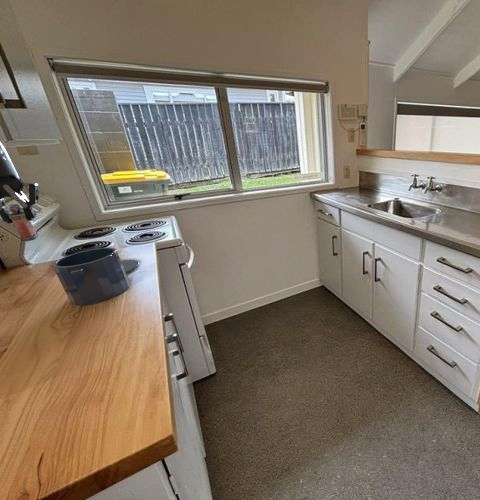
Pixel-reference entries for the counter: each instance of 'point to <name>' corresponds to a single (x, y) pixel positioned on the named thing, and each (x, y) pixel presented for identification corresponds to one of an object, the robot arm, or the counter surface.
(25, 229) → the lighter
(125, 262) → the pot lid
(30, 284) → the counter surface
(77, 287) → the pot
